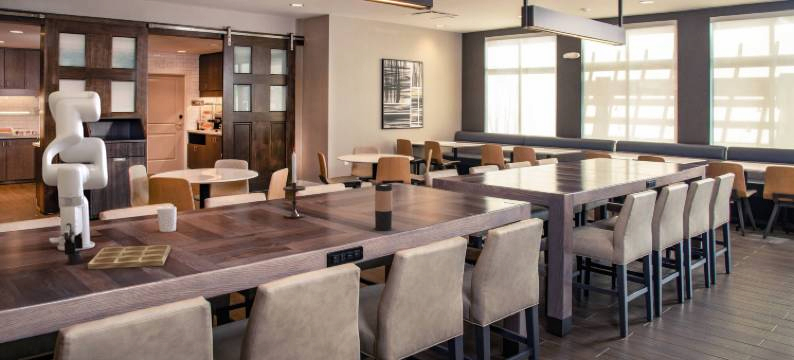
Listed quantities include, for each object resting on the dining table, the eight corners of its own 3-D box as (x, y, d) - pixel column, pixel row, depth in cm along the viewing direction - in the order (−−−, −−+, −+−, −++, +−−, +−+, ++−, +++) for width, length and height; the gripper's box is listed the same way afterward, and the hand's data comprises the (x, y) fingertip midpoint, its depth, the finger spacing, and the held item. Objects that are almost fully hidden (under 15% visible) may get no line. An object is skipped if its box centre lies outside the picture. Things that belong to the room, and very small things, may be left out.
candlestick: (310, 216, 306) (309, 144, 302) (295, 219, 297) (294, 146, 293) (293, 214, 312) (292, 143, 307) (278, 217, 303) (277, 145, 298)
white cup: (156, 232, 265) (155, 209, 264) (159, 229, 273) (158, 206, 272) (175, 232, 267) (175, 209, 265) (178, 228, 274) (177, 205, 273)
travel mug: (378, 231, 273) (378, 186, 270) (372, 228, 280) (372, 183, 277) (394, 230, 275) (395, 185, 273) (388, 227, 282) (388, 183, 280)
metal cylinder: (66, 264, 213) (66, 254, 213) (70, 261, 217) (69, 251, 217) (79, 264, 214) (79, 254, 214) (82, 261, 218) (82, 251, 218)
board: (87, 269, 208) (87, 264, 207) (102, 252, 230) (102, 247, 230) (163, 265, 213) (162, 260, 213) (170, 249, 236) (170, 244, 236)
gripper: (66, 199, 220) (68, 247, 222) (51, 205, 203) (54, 257, 205) (89, 198, 222) (91, 246, 224) (77, 204, 205) (79, 256, 207)
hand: (74, 251), depth 214 cm, fingers open, 9 cm apart
